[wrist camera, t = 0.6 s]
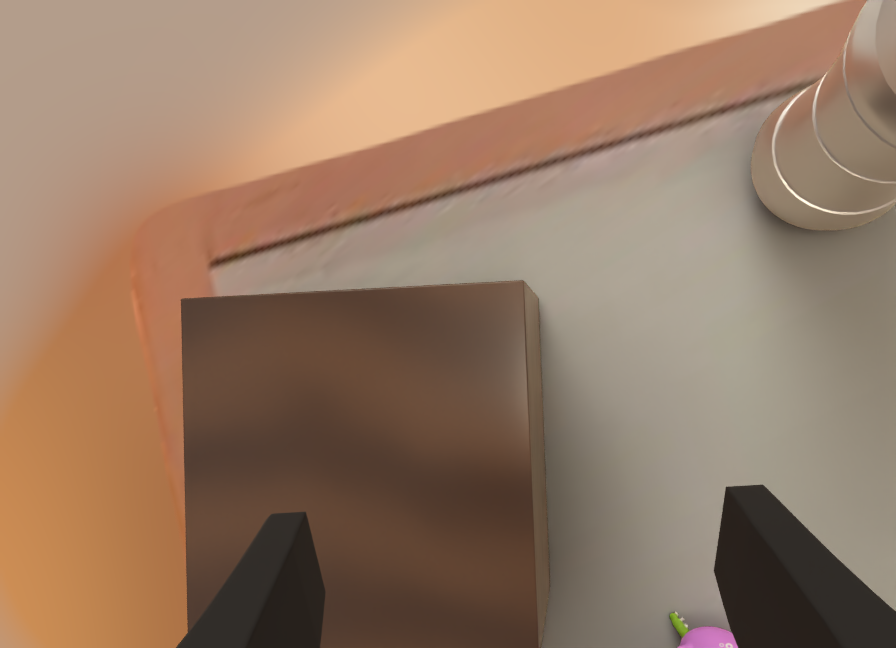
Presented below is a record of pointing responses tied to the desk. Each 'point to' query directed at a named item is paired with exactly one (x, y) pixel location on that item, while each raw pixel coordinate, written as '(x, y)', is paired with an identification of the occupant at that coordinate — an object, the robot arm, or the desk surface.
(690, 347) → the desk surface
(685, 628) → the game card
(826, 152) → the silver metal bottle
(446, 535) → the cabinet
